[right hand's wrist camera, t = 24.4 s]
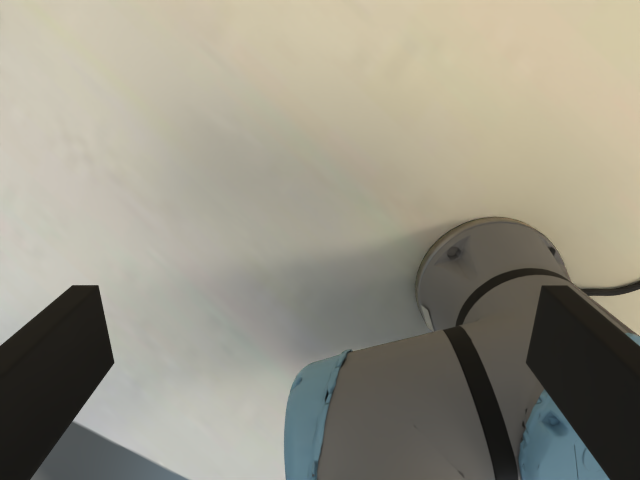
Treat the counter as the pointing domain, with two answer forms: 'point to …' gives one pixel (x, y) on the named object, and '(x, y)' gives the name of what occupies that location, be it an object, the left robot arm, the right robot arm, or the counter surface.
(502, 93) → the counter surface
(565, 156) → the counter surface
